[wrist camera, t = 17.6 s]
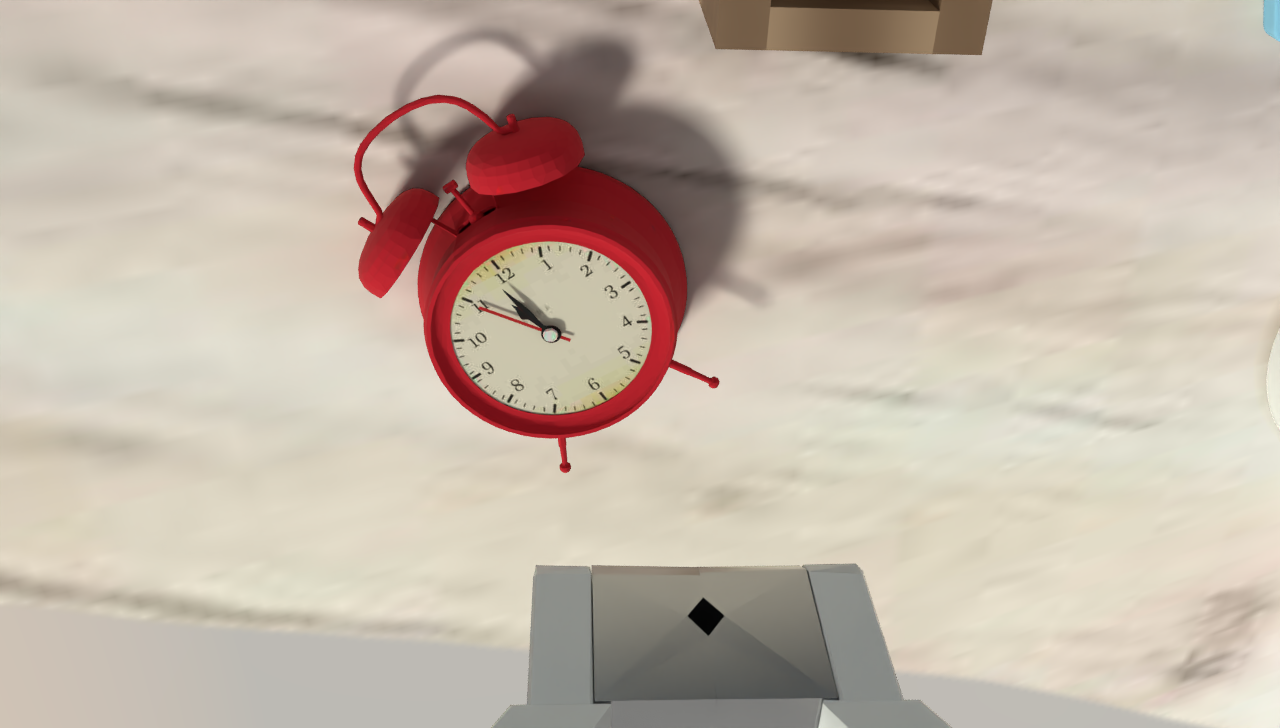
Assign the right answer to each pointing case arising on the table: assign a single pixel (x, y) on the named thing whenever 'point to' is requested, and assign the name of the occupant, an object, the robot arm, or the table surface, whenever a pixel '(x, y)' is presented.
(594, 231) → the alarm clock
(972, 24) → the box
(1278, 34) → the chair
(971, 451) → the table surface
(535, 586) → the robot arm
